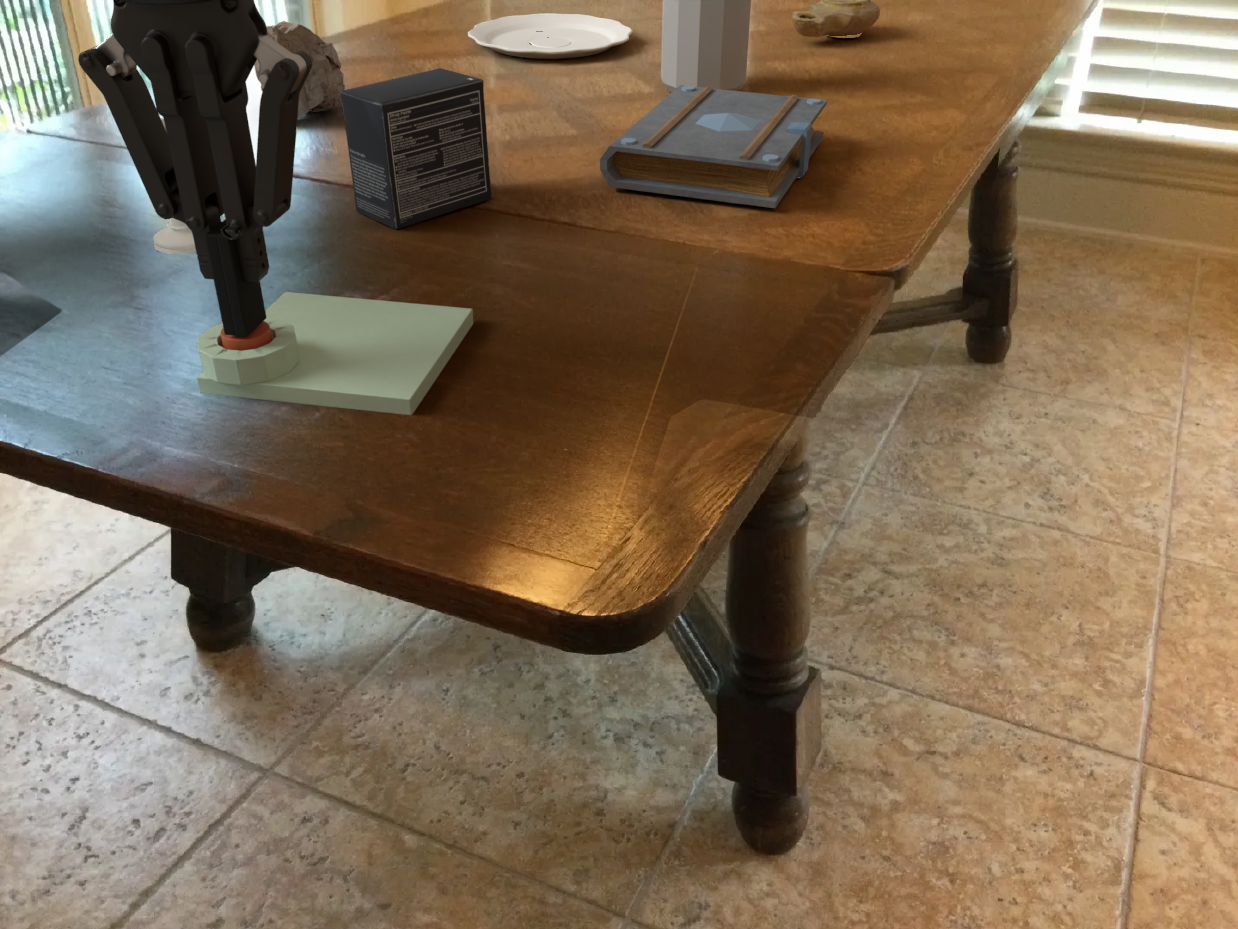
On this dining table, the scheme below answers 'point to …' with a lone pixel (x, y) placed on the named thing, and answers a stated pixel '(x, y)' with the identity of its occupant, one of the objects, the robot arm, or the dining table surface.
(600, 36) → the plate
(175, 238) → the chess piece
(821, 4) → the oil lamp
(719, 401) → the dining table surface
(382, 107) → the small box
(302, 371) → the pale green flat block
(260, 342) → the button
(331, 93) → the rock
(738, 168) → the book
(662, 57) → the jar
